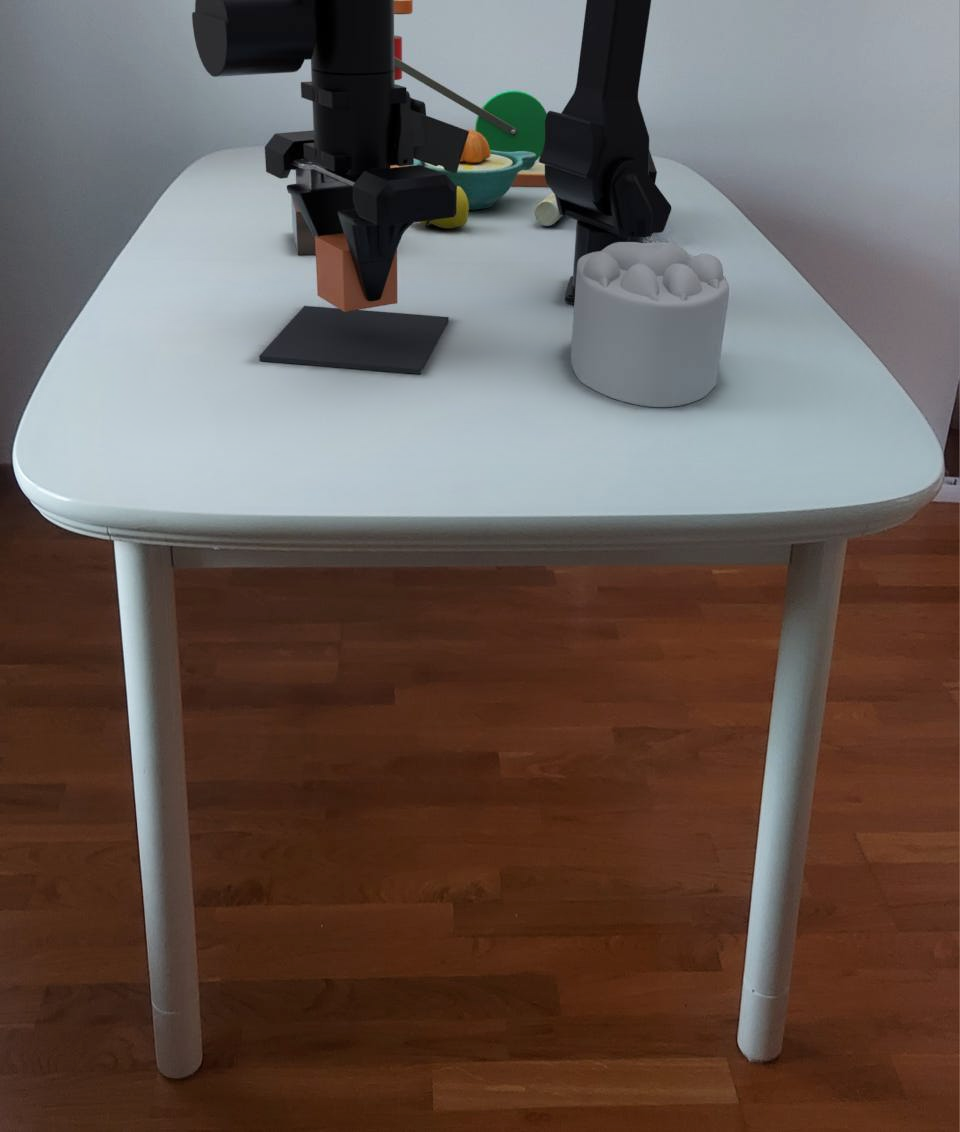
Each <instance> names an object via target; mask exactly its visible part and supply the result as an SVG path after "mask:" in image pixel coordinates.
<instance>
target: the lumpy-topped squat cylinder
mask: <svg viewBox="0 0 960 1132" xmlns="http://www.w3.org/2000/svg"><path fill="white" fill-rule="evenodd" d="M729 297H730V286H729V283H728V280H727V278H726V277H725V275H724V267H723V264H722V262H721V260H720V259H719V258H718V257H716V256H715V255H713V254H710V253H700V254H698V255H694V254H690V253H688V251H686V249H684V248H683V247H681V246H680V245H678V244H676V243H673V242H660V241H659V242H655V241H654V242H650V243H644V242H643V243H638V242H617V243H613V244H611V245H609V246H607V247H606V248H604V249H603V250H602V251H598V252H592V253H589V254H586V255H584V256H582V257H581V258H580V259H579V260H578V263H577V275H576V289H575V303H573V304H574V306H573V319H572V331H571V346H570V363H571V368H572V370H573V371H574V372H573V373H574V374H575V377H576V378H577V380H579V382H580V383H581V384H583V385H584V386H586V387H588V388H590V389H592V390H593V391H595V392H597V393H600V394H601V395H604V396H606V397H608V398H611V399H614V400H617V401H620V402H623V403H628V404H632V405H637V406H642V407H648V408H672V407H673V408H674V407H679V406H684V405H687V404H691V403H695V402H696V401H699V400H701V399H703V398H705V397H706V396H707V395H708V394H709V393H710V392H712V390H713V389H714V388H715V387H716V386H717V384H718V378H719V377H718V376H719V370H720V361H721V354H722V347H723V340H724V333H725V327H726V319H727V311H728V305H729Z"/></svg>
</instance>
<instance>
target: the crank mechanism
mask: <svg viewBox="0 0 960 1132" xmlns="http://www.w3.org/2000/svg"><path fill="white" fill-rule="evenodd" d="M413 2H414V1H413V0H394V15H411V14H413V11H414V10H413V9H414V6H413V4H414V3H413ZM394 70H395V81H399V80H402V79H403V73H405V74H407V75H408V76H410V77H411V78H413V79H415V80H417V81H418V82H420V83H422V84H424V85H425V86H426V87H429V88H431V89H432V90H434V91H436V92H438V93H439V94H441V95H442V96H444V97H446V98H447V99H449V100H451V101H453V102H454V103H455V104H458V105H460V106H461V107H463V108H465V109H466V110H468V111H469V112H471V113H473V114H475V115H476V119H475V124H474V125H475V126H474V131H477V132H479V133H480V134H482V135H483V136H484V137H485V139H486V140H487V142H488V145H489V148H490V150H494V151H501V152H517V151H526V152H532V153H535V154H536V160H535V164H534V166H533V167H532V168H530V169H528V170H521V171H520V172H518V173H517V176H516V178H515V180H514V182H513V184H512V186H511V187H545V188H547V187H548V188H550V187H549V185H547V183H546V179H545V164H542V163H540V162H536V161H537V160H539V158H540V156H541V154H542V151H543V147H544V143H545V119H546V116H547V113H548V112H547V110H546V109H545V106H543V104H542V103H541V102H540V100H538V99H537V98H536V97H535V96H533V95H532V94H530V93H528V92H525V91H522V90H516V89H511V90H509V89H508V90H504V91H500V92H498V93H496V94H494V95H493V96H491V97H490V98H489V99H487V101H485V103H484V104H483V105H482V106H481V107H480V106H478V105H477V104H475V103H473V102H472V101H470V100H469V99H467V98H465V97H463V96H461V94H459V93H456V92H454V90H451V89H449V87H446V86H445V85H443V84H441V83H440V82H438V81H436V80H434V79H433V78H431V77H430V76H428V75H426V74H425V73H422V72H421V71H419V70H418V69H417V68H414V67H413V66H411V65H410V64H407V63H406V62H404V61H403V37H402V36H401V35H395V34H394ZM408 166H410V165H408ZM394 167H404V166H397V165H393V166H391V167H390V168H394Z"/></svg>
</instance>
